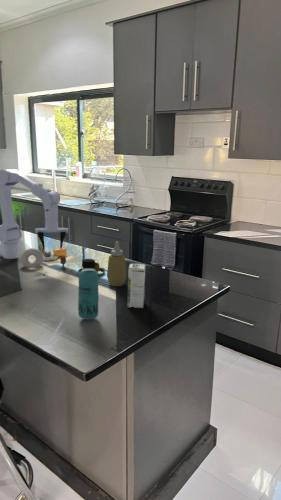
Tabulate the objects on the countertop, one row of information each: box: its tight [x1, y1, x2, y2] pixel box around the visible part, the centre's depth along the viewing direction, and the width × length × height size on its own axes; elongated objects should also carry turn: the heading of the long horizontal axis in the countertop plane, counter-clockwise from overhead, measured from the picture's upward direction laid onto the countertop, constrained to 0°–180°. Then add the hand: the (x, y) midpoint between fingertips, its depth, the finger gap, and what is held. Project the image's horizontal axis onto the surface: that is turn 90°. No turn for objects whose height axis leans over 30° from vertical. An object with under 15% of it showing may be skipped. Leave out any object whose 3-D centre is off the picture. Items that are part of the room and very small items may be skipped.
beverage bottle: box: [77, 258, 100, 320], centre depth 118 cm, size 6×7×20 cm
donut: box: [20, 247, 43, 269], centre depth 170 cm, size 10×4×10 cm, turn 112°
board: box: [29, 247, 81, 267], centre depth 185 cm, size 20×17×5 cm
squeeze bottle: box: [106, 240, 127, 287], centre depth 152 cm, size 8×8×18 cm
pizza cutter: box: [42, 247, 67, 261], centre depth 185 cm, size 15×10×4 cm, turn 134°
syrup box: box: [126, 263, 146, 309], centre depth 132 cm, size 6×6×14 cm
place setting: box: [60, 258, 107, 278], centre depth 169 cm, size 18×20×6 cm
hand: (52, 248), depth 172 cm, fingers open, 7 cm apart
